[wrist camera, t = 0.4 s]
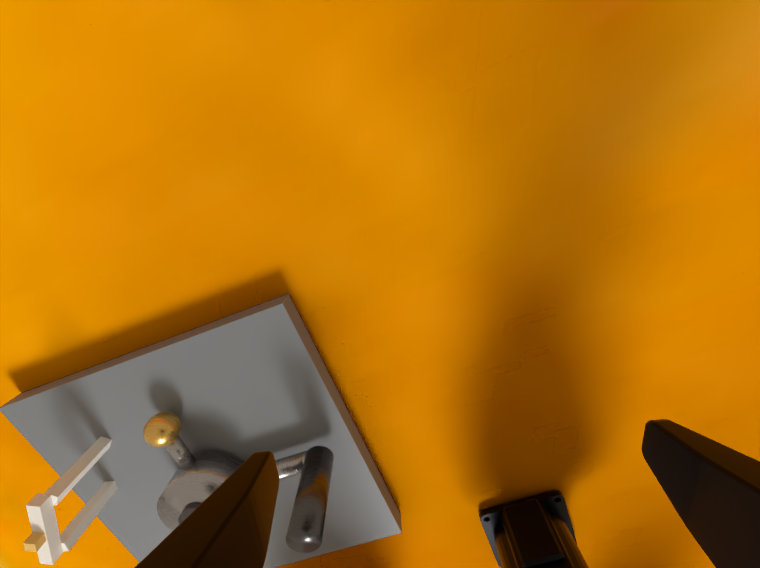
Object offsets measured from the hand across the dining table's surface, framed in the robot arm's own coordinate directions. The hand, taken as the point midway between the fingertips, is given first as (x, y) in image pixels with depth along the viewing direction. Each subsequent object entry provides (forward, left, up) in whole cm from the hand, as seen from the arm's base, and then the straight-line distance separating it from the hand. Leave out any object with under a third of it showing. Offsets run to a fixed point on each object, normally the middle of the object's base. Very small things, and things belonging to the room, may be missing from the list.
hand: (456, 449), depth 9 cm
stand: (-9, +17, -14) cm, 23 cm away
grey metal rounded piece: (-7, +14, -12) cm, 19 cm away
